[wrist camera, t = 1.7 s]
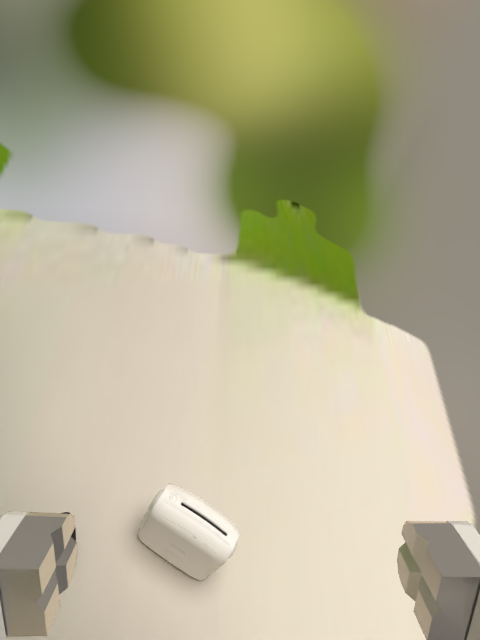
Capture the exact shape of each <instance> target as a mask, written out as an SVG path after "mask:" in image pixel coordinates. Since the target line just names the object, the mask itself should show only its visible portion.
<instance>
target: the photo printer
mask: <svg viewBox="0 0 480 640" xmlns="http://www.w3.org/2000/svg"><path fill="white" fill-rule="evenodd" d="M239 535H240V532H239V530H238V529H237V528H236V526H235V525H234V524H233V523H232V522H231V521H230V520H229V519H228V518H227V517H225V516H224V515H223V514H222V513H221V512H219V511H218V510H217V509H215V508H214V507H213V506H211V505H210V504H208V503H207V502H205V501H204V500H202V499H201V498H199V497H198V496H196V495H194V494H193V493H191V492H189V491H187V490H185V489H182V488H180V487H178V486H175V485H172V484H168V485H167V486H166V488H165V489H163V490H161V491H160V492H159V493H158V494H157V495H156V496H155V498H154V499H153V501H152V503H151V505H150V507H149V509H148V511H147V513H146V515H145V517H144V519H143V521H142V523H141V525H140V528H139V534H138V538H139V539H140V540H141V541H142V542H143V543H144V544H145V545H146V546H148V547H149V548H150V549H151V550H153V551H154V552H156V553H157V554H158V555H160V556H161V557H162V558H164V559H165V560H167V561H168V562H170V563H171V564H172V565H174V566H175V567H177V568H179V569H180V570H182V571H183V572H185V573H186V574H188V575H190V576H191V577H193V578H195V579H197V580H200V581H202V580H204V579H205V578H206V577H208V576H209V575H210V574H212V573H213V572H214V571H215V570H217V569H218V568H219V567H220V566H222V565H223V564H224V563H225V562H226V561H227V559H228V558H230V557H231V556H232V554H233V553H234V551H235V549H236V546H237V540H238V539H239Z"/></svg>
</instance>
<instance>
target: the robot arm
mask: <svg viewBox="0 0 480 640" xmlns="http://www.w3.org/2000/svg"><path fill="white" fill-rule="evenodd" d="M74 529H75V522H74V516H73V515H71V514H61V513H40V512H30V513H28V512H10V511H9V512H8V513H6V514H4V515H3V516H2V517H1V519H0V640H6V637H7V636H47V635H48V632H49V630H50V628H51V625H52V623H53V621H54V619H55V616H56V614H57V612H58V609H59V607H60V600H59V594H61V593H62V592H63V591H64V590H65V589H67V588H68V586H69V584H70V581H71V579H72V576H73V573H74V569H75V565H76V559H77V542H76V541H75V540H74V539H73V538H72V537H71V535H72V533H73V531H74ZM402 536H403V538H404V540H405V543H404V544H403V545H402V546H401V547H400V548H399V551H398V558H397V563H398V573H399V577H400V580H401V583H402V586H403V588H404V590H405V593H406V594H407V595H409V596H410V597H411V598H412V599H413V600H414V601H415V607H414V613H415V615H416V618H417V620H418V622H419V624H420V626H421V629H422V631H423V633H424V635H425V638H426V640H480V535H479V533H478V532H477V531H476V529H475V528H474V527H473V525H472V524H470V523H469V522H467V521H447V522H437V521H406V522H405V524H404V525H403V530H402Z"/></svg>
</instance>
